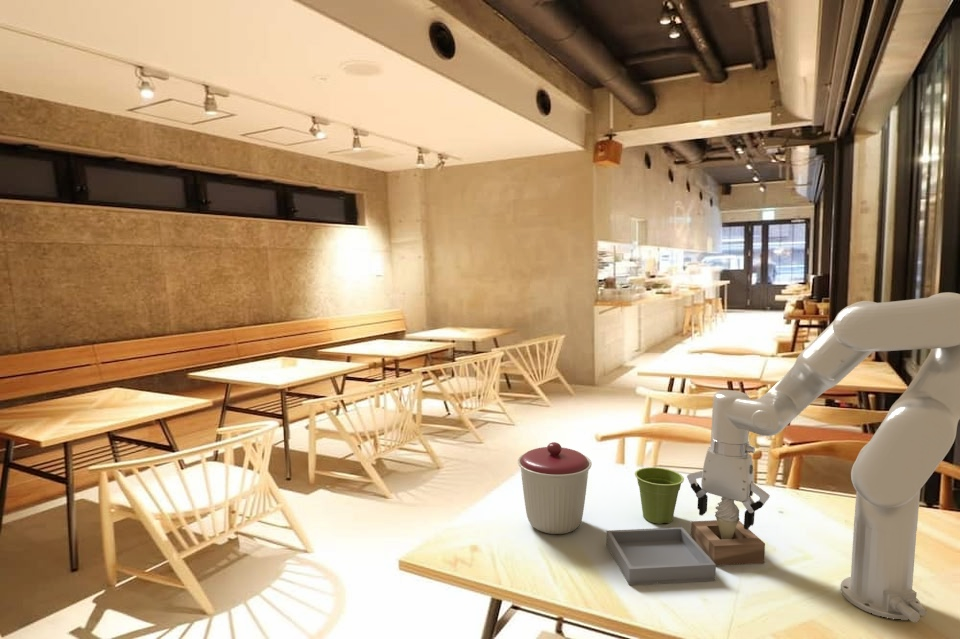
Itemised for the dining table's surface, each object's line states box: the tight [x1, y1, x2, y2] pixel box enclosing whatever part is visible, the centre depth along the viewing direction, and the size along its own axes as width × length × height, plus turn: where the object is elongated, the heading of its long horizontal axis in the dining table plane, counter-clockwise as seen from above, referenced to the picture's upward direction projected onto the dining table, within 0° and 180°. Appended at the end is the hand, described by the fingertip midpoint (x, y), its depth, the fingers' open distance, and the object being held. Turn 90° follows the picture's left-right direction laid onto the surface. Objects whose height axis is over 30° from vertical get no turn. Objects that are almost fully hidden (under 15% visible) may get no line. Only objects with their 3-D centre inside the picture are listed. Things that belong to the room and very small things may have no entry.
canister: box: [517, 442, 592, 535], centre depth 137 cm, size 18×18×21 cm
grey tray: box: [605, 526, 717, 586], centre depth 121 cm, size 16×18×4 cm
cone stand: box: [690, 519, 766, 567], centre depth 125 cm, size 11×11×4 cm
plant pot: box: [634, 466, 685, 525], centre depth 140 cm, size 12×12×11 cm
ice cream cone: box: [714, 497, 740, 539], centre depth 124 cm, size 5×5×15 cm
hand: (724, 520), depth 124 cm, fingers open, 9 cm apart
